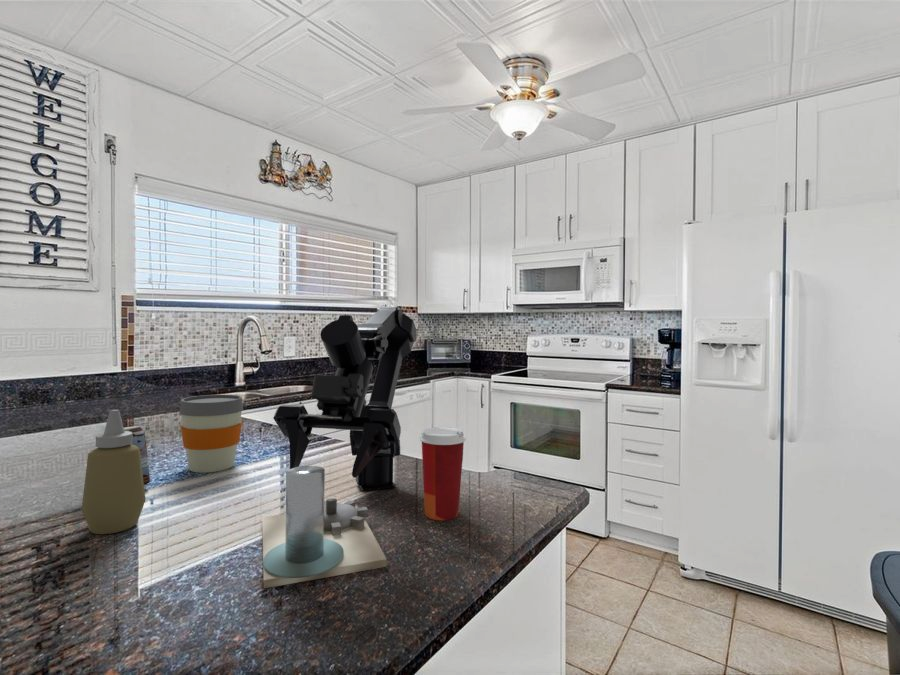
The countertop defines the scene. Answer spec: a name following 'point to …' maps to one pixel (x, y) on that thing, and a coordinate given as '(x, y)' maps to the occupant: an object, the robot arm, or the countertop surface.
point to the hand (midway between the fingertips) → (322, 474)
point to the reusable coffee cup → (211, 431)
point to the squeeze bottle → (113, 480)
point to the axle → (304, 514)
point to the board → (343, 547)
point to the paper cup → (442, 471)
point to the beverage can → (141, 450)
